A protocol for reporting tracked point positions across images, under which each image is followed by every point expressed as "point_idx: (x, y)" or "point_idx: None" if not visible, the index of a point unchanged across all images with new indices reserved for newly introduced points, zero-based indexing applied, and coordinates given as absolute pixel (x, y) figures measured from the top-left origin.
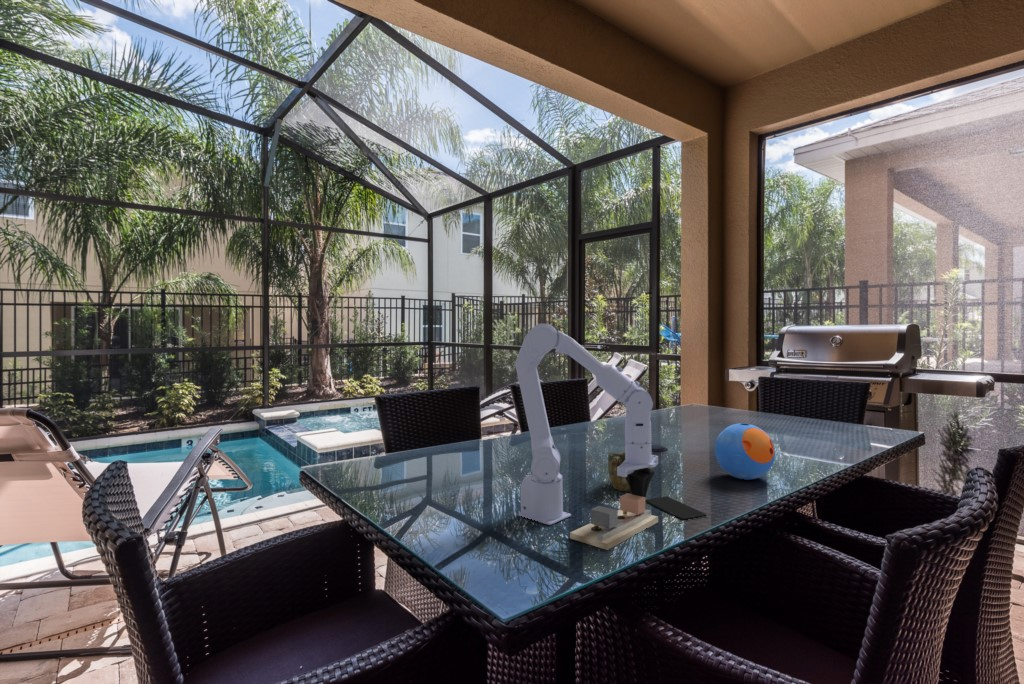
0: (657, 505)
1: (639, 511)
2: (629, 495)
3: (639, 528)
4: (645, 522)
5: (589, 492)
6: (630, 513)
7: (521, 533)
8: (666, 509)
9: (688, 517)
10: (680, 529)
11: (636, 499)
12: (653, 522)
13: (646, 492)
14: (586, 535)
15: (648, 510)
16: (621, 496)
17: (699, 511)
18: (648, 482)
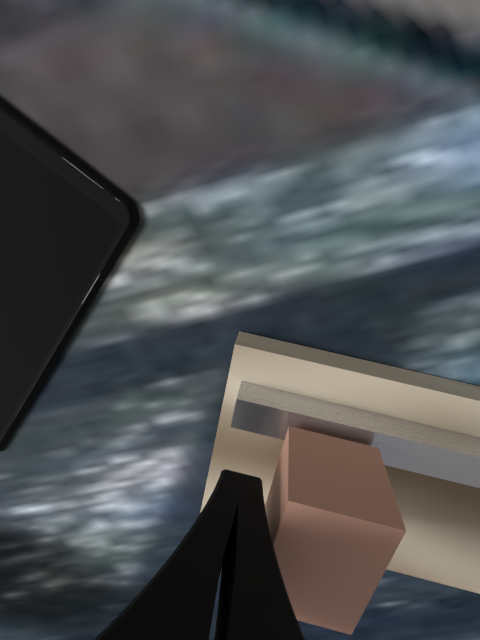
0: (20, 390)
1: (367, 455)
2: (296, 592)
3: (457, 390)
4: (371, 383)
5: (51, 632)
6: (259, 476)
7: None
8: (46, 337)
9: (92, 186)
10: (295, 182)
11: (378, 544)
12: (292, 348)
13: (205, 519)
14: None
15: (245, 412)
16: (346, 628)
17: None
18: (172, 606)
